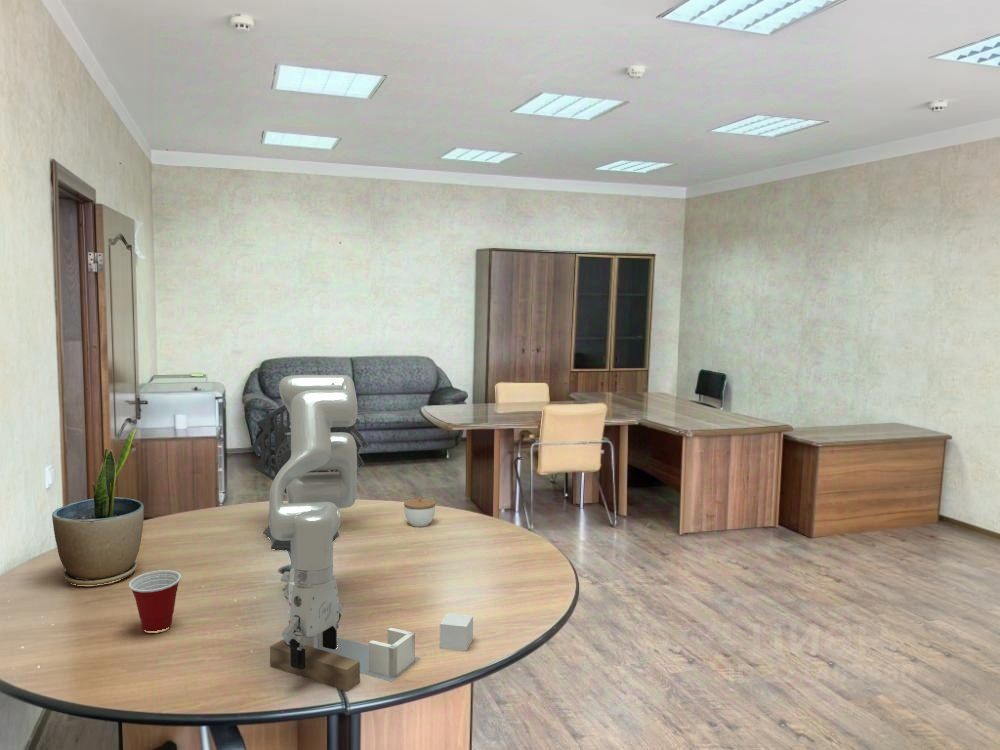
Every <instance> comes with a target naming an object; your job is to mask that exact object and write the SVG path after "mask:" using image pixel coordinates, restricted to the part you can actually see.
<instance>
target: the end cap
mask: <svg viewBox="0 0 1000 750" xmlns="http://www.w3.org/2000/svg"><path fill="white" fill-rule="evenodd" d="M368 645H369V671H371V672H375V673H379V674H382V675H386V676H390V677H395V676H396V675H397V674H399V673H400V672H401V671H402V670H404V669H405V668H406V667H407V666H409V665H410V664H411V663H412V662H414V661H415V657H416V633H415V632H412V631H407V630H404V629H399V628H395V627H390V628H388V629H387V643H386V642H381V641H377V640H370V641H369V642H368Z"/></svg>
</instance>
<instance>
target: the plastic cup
mask: <svg viewBox="0 0 1000 750" xmlns="http://www.w3.org/2000/svg"><path fill="white" fill-rule="evenodd" d="M181 579H182V576H181V573H179V572H178V571H176V570H171V569H164V570H163V569H158V570H153V571H148V572H145V573H143V574H139V575H137V576H135V577H134V578H132V579H131V580H130V581H129V582H128V587H129V589H131V591H132V593H133V597H134V599H135V602H136V603H135V604H136V607H137V612H138V615H139V616H138V617H139V619H140V622H141V628H142V630H146V631H157V630H162V629H166V628H168V627H170V626H172V622H173V615H174V612H175V605H176V598H177V591H178V587H179V583H180V581H181ZM170 628H171V627H170Z"/></svg>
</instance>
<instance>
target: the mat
mask: <svg viewBox="0 0 1000 750" xmlns="http://www.w3.org/2000/svg"><path fill="white" fill-rule="evenodd" d="M317 643H318V649H320V650H323V651H327V652H330V653H333V654H337V655H340V656H343V657H347V658H350V659H354V660H357V661H360V675H361V674H362V675H365V676H369V677H372V678H377V679H380V680H383V681H388V682H394V680H395V679H397V678H398V677H400V676H401V675H402V674H403V673H404V672H406V671H407V670H408V669H409V668H411V666H413V665H414V664H416V663H418V661H419V660H421V657H418V656H415V661H414V662H412V663H411V664H410V665H409V666H407V667H406V668H405V669H404V670H402V671H401V672H400V673H399V674H397V675H396V676H395V677H390V676H386V675H382V674H379V673H375V672H371V671H369V644H366V643H360V642H357V641H353V640H348V639H344V638H341V637H337V645H338V646H337V647H338V648H337V649H335V650H333V649H329V648H325V647H323V641H322V640H318V639H317Z"/></svg>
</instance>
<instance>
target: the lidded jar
mask: <svg viewBox="0 0 1000 750" xmlns="http://www.w3.org/2000/svg"><path fill="white" fill-rule="evenodd" d="M403 505H404V508H403V509H404V516H405V519H406V521H407V522H408V523H409V524H410V525H411V526H412V527H416V528H417V527H419V528H421V527H427V526H429V524H430V523H431V522H432V520H433V519H434V517H435V513H436V501H435V500H433V499H431V498H422V497H421V496H419V497H418V498H411V499H407V500H405V501H404V503H403Z"/></svg>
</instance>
